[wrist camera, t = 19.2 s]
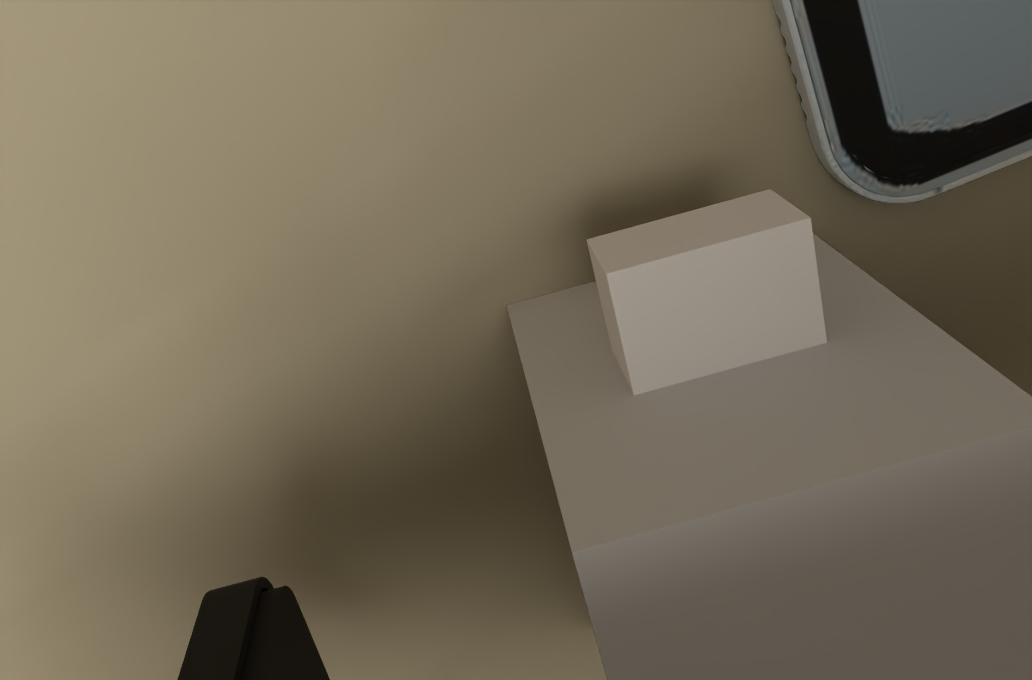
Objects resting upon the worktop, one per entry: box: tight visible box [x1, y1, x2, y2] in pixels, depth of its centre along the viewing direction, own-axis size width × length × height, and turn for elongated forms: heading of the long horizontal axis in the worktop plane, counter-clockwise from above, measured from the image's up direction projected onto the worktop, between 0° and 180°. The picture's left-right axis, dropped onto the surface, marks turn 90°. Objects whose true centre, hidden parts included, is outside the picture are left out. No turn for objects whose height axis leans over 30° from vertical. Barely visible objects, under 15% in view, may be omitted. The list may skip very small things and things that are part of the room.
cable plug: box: [506, 189, 1032, 680], centre depth 10 cm, size 4×6×5 cm, turn 14°
